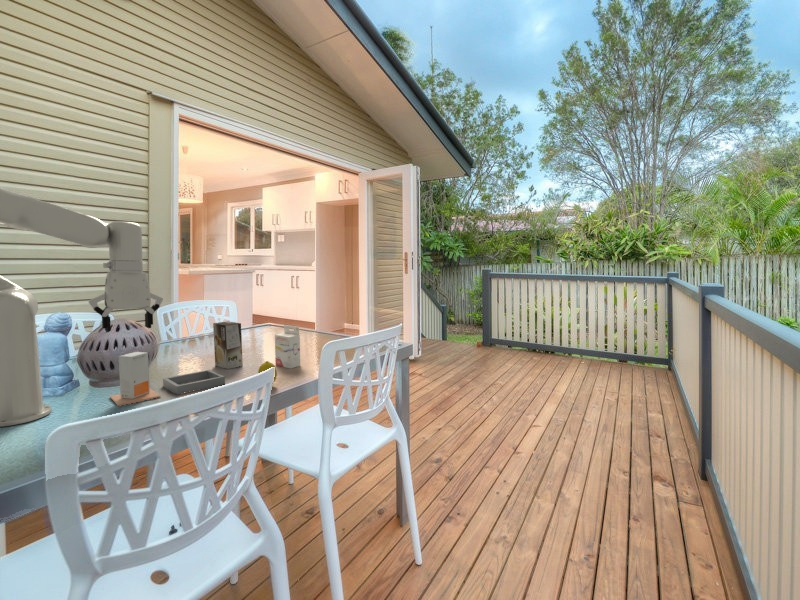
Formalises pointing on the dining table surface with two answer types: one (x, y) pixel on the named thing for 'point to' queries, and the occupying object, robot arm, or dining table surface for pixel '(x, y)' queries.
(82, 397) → the dining table surface
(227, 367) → the coffee box
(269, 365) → the lemon
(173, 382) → the tray
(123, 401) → the tile
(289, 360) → the ink cartridge box
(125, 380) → the skincare box
